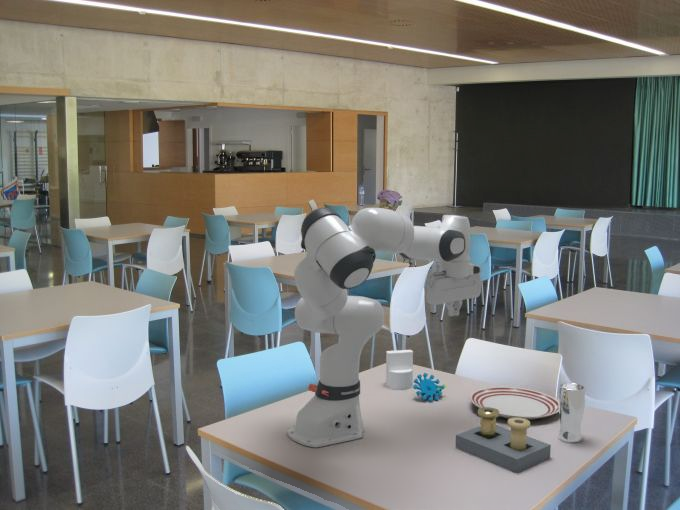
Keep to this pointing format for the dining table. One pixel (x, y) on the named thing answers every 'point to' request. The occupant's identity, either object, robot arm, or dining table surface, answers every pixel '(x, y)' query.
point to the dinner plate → (515, 402)
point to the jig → (506, 446)
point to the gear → (428, 387)
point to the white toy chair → (399, 369)
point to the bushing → (488, 422)
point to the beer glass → (571, 411)
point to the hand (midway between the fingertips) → (453, 315)
